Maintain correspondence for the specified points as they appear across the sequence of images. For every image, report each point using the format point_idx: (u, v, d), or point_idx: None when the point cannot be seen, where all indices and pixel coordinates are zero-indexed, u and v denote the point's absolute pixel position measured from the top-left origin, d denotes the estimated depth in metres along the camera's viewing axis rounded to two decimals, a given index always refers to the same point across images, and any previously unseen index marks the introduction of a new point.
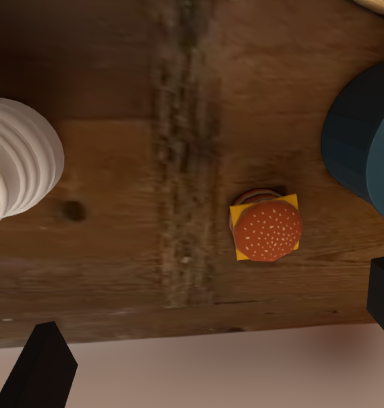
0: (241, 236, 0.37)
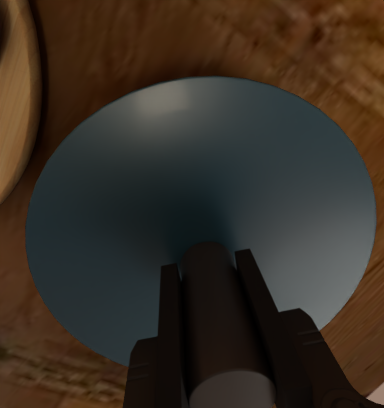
0: None
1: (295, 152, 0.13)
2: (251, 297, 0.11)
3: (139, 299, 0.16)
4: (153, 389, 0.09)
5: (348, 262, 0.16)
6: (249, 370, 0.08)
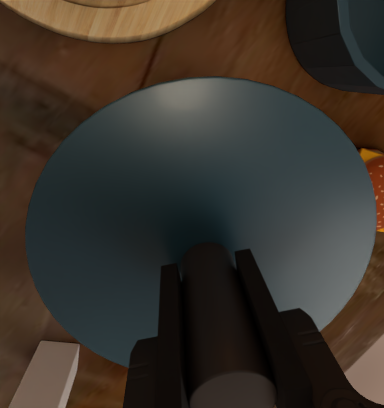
0: None
1: (295, 153, 0.13)
2: (251, 297, 0.11)
3: (139, 300, 0.16)
4: (153, 389, 0.09)
5: (348, 263, 0.16)
6: (250, 371, 0.08)
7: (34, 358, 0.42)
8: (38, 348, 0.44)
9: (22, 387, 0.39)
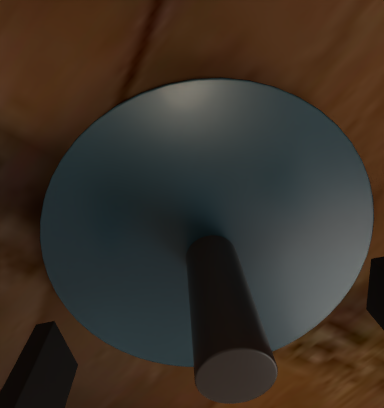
0: None
1: (296, 150, 0.14)
2: None
3: (146, 290, 0.17)
4: None
5: (346, 256, 0.17)
6: (251, 349, 0.09)
7: None
8: None
9: None
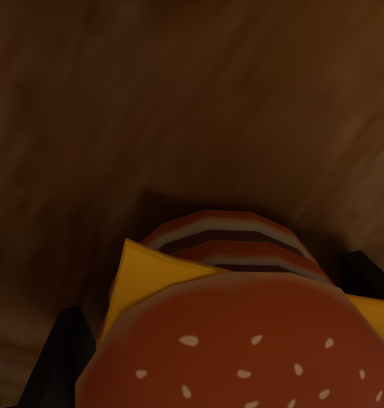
0: None
1: None
2: None
3: None
4: None
5: None
6: None
7: None
8: None
9: None
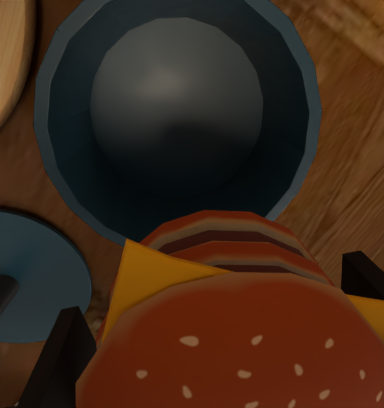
0: None
1: (29, 237, 0.29)
2: None
3: None
4: None
5: (79, 283, 0.32)
6: None
7: None
8: None
9: None
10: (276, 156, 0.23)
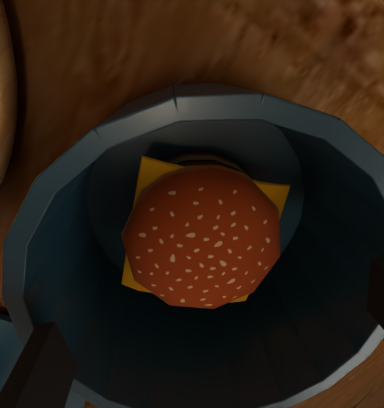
0: (177, 304, 0.17)
1: (12, 340, 0.24)
2: None
3: None
4: None
5: None
6: None
7: None
8: None
9: None
10: (328, 280, 0.17)
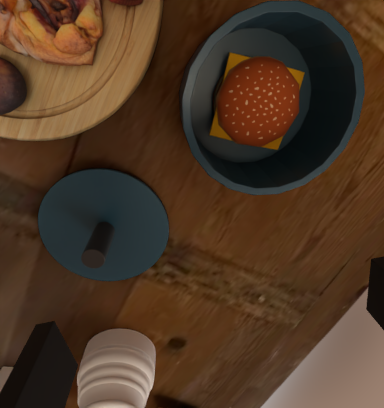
0: (243, 138, 0.32)
1: (128, 191, 0.39)
2: None
3: (80, 244, 0.42)
4: None
5: (160, 230, 0.42)
6: (94, 249, 0.34)
7: None
8: None
9: None
10: (325, 126, 0.32)
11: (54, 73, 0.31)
